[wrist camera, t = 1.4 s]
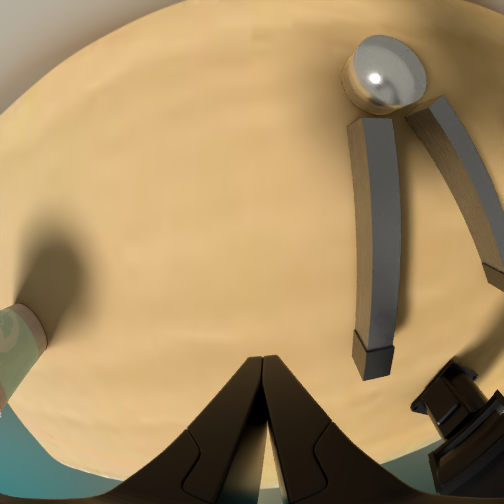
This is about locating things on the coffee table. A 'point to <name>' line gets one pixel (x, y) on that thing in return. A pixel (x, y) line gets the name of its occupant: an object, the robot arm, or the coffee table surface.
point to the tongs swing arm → (378, 191)
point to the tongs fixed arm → (464, 180)
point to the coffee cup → (18, 347)
